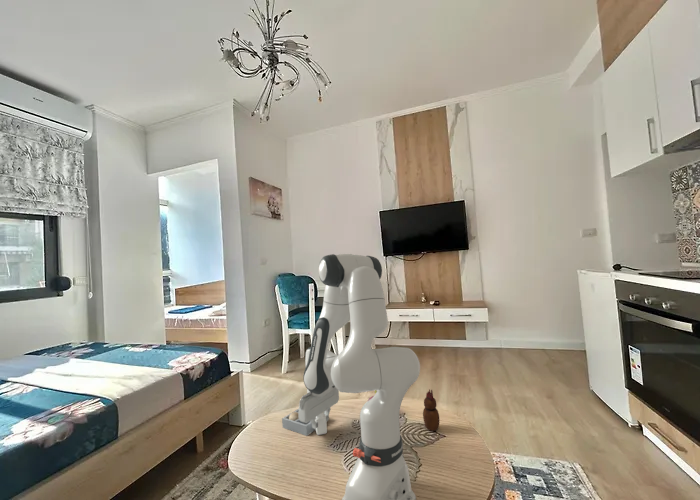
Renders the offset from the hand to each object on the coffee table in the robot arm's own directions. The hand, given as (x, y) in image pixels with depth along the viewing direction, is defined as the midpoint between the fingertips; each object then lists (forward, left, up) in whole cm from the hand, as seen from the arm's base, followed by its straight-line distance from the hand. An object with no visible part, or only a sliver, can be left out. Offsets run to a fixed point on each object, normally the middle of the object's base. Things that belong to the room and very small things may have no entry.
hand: (320, 423), depth 123 cm
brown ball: (-1, +13, -3) cm, 13 cm away
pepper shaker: (0, 0, -4) cm, 4 cm away
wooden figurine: (+22, -36, -4) cm, 42 cm away
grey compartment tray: (+2, +10, -3) cm, 11 cm away
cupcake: (+23, -12, -4) cm, 26 cm away
